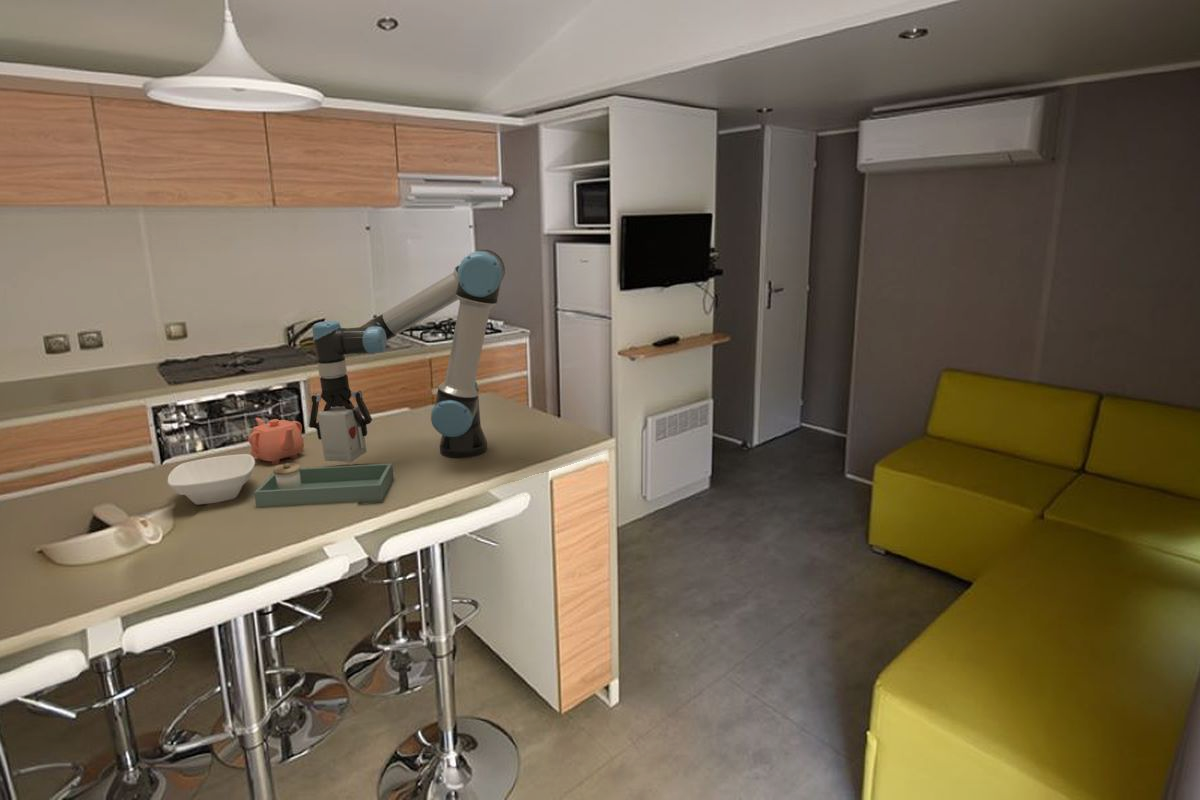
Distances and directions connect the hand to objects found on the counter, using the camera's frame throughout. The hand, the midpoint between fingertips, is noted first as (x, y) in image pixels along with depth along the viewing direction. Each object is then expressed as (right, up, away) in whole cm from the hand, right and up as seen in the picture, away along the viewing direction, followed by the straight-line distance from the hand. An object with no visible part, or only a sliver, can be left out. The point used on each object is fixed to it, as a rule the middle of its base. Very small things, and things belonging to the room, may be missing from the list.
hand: (344, 447), depth 200 cm
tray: (+1, -12, -15) cm, 19 cm away
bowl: (-29, -13, -16) cm, 35 cm away
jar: (-9, -11, -16) cm, 22 cm away
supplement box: (0, -3, +1) cm, 3 cm away
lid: (-9, -5, -18) cm, 21 cm away
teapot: (-26, -4, +13) cm, 29 cm away
